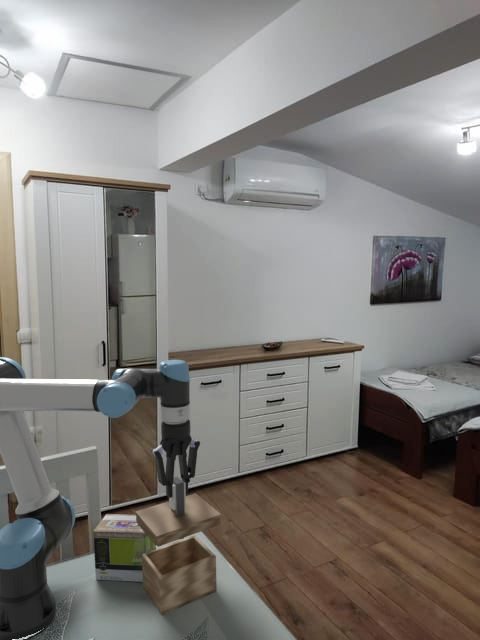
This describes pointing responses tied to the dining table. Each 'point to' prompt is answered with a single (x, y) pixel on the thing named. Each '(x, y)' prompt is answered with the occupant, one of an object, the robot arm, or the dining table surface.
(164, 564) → the wooden box
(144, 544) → the tea box
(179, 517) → the lid
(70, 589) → the dining table surface
